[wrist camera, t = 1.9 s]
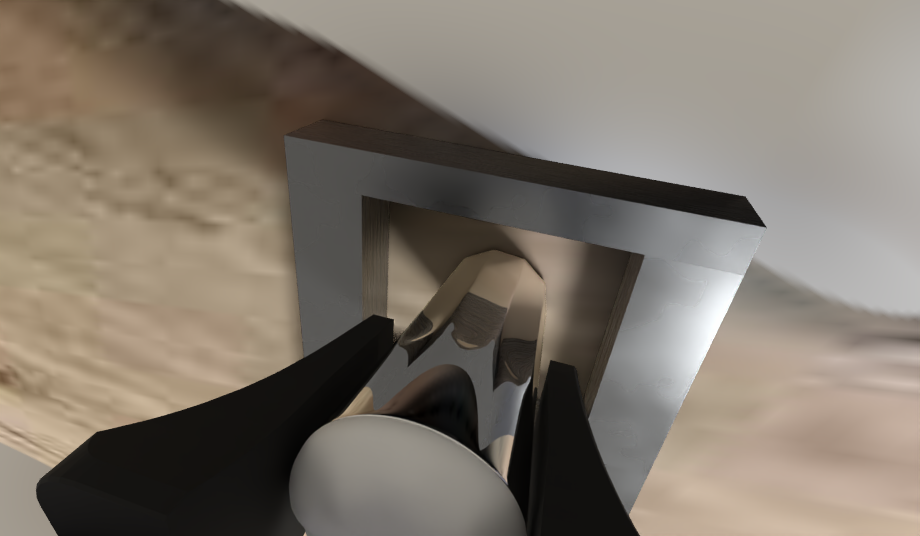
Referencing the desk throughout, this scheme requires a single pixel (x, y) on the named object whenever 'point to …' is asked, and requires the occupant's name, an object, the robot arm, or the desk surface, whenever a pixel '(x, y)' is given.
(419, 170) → the grey board with holes
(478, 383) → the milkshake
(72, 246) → the desk surface
